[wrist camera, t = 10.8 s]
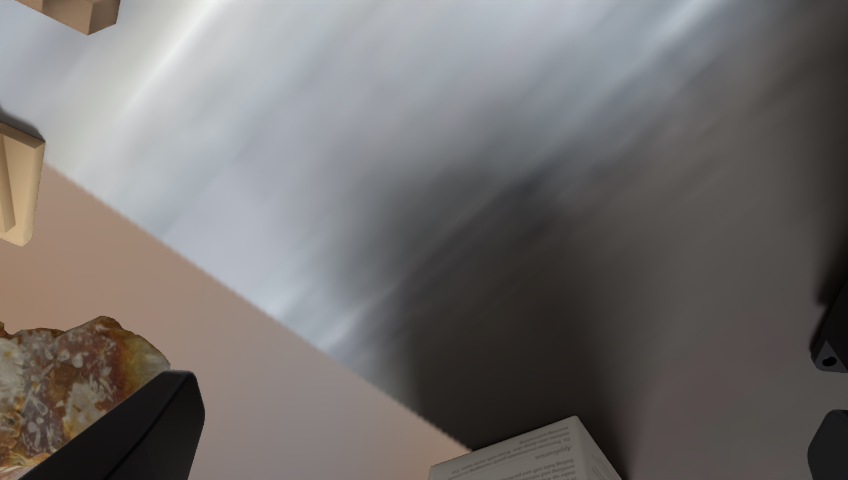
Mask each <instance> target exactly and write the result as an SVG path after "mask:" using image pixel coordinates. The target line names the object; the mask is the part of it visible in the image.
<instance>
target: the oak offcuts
mask: <svg viewBox="0 0 848 480" xmlns="http://www.w3.org/2000/svg"><path fill="white" fill-rule="evenodd" d="M44 149H45V142H44V141H41V140H39V139H37V138H35V137H32V136H30V135H28V134H26V133H24V132H21V131H19V130H17V129H15V128H13V127H10V126H8V125H6V124H4V123H2V122H0V238H2V239H4V240H7V241H9V242H12V243H14V244H16V245H19V246H23V245H24V244H26V243H27V242H28V241H29V240H30V239H31V238H32V232H33V225H34V218H35V211H36V204H37V197H38V190H39V183H40V176H41V169H42V162H43V155H44Z"/></svg>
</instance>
